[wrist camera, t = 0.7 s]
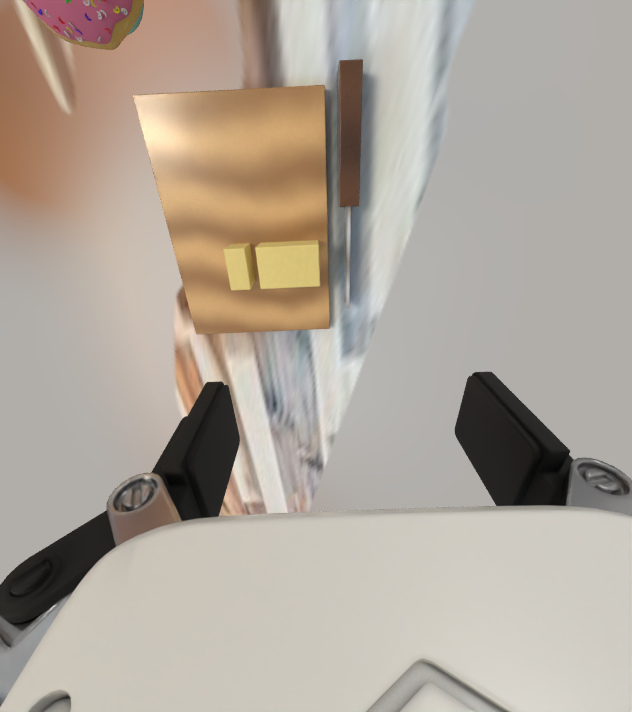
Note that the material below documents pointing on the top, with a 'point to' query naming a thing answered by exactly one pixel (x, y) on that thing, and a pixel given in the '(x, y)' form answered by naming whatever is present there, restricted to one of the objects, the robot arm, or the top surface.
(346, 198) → the knife
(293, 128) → the board
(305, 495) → the top surface
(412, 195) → the top surface
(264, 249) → the butter
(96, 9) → the birthday cake
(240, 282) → the butter pat
